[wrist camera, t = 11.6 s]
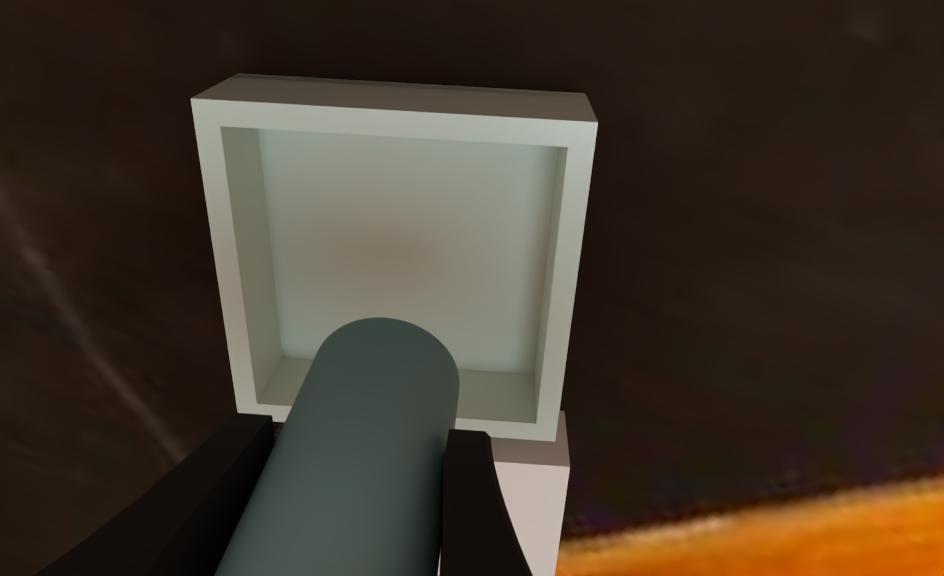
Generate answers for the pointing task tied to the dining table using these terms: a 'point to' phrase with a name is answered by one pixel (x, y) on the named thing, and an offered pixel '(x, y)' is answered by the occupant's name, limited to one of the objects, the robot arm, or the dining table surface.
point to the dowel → (356, 462)
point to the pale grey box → (534, 493)
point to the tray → (398, 231)
